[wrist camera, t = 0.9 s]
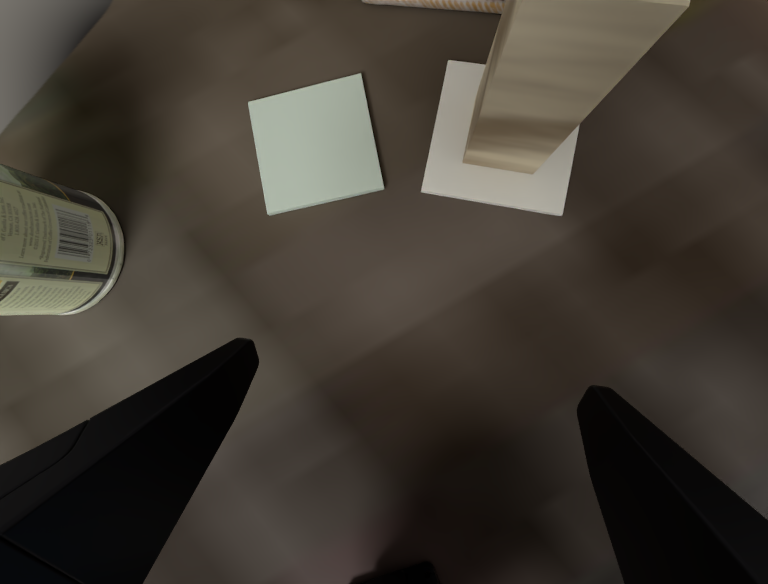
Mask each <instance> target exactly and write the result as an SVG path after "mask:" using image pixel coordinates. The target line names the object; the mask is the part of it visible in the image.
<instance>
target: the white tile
mask: <svg viewBox="0 0 768 584" xmlns="http://www.w3.org/2000/svg"><path fill="white" fill-rule="evenodd" d="M485 66H486V65H484V64H476V63H468V62H461V61H453V60H448V64H447V69H446V74H445V78H444V83H443V88H442V93H441V98H440V103H439V107H438V112H437V117H436V122H435V127H434V132H433V136H432V141H431V146H430V151H429V156H428V160H427V165H426V170H425V175H424V180H423V185H422V189H421V192H423V193H428V194H434V195H440V196H446V197H452V198H457V199H463V200H469V201H475V202H481V203H486V204H492V205H498V206H504V207H509V208H515V209H521V210H527V211H533V212H538V213H544V214H550V215H556V216H562V215H563V210H564V205H565V199H566V194H567V189H568V184H569V178H570V173H571V168H572V163H573V157H574V152H575V147H576V142H577V136H578V131H579V126H580V124H579V125H578V126H577V127H576V129H575V130H574V131H573V132H572V133H571V134H570V135H569V136H568V137H567V138H566V139H565V140H564V141H563V143H562V144H561V145H560V146H559V147H558V148H557V149H556V150H555V151H554V152H553V153H552V154H551V155H550V156H549V158H548V159H547V160H546V161H545V162H544V163H543V164H542V165H541V166H540V167H539V168H538V169H537V170H536V172H535V173H534V174H527V173H521V172H515V171H509V170H502V169H496V168H490V167H484V166H478V165H472V164H465V163H462V162H463V157H464V152H465V147H466V142H467V137H468V132H469V128H470V123H471V118H472V113H473V108H474V103H475V98H476V94H477V91H478V88H479V85H480V82H481V79H482V75H483V72H484V69H485Z"/></svg>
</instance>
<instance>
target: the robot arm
mask: <svg viewBox="0 0 768 584" xmlns="http://www.w3.org/2000/svg"><path fill="white" fill-rule="evenodd" d="M258 365H259V358H258V355H257V351H256V348H255V344H254V342H253V341H252V340H251V339H246V338H236V339H234V340H232V341H230V342H228V343H227V344H225V345H223V346H221V347H219V348H218V349H216V350H214V351H212V352H210V353H208V354H207V355H205V356H203V357H201V358H199V359H197V360H196V361H194V362H192V363H190V364H188V365H186V366H185V367H183V368H181V369H179V370H177V371H175V372H174V373H172V374H170V375H168V376H166V377H165V378H163V379H161V380H159V381H157V382H155V383H154V384H152V385H150V386H148V387H146V388H144V389H143V390H141V391H139V392H137V393H135V394H133V395H132V396H130V397H128V398H126V399H124V400H122V401H121V402H119V403H117V404H115V405H113V406H111V407H110V408H108V409H106V410H104V411H102V412H101V413H99V414H97V415H95V416H93V417H92V418H90V420H86V421H84V422H82V423H80V424H78V425H77V426H75V427H73V428H71V429H69V430H68V431H66V432H64V433H62V434H60V435H58V436H56V437H54V438H52V439H51V440H49V441H47V442H45V443H43V444H41V445H39V446H37V447H36V448H34V449H32V450H30V451H28V452H26V453H24V454H22V455H20V456H18V457H16V458H14V459H12V460H10V461H8V462H6V463H4V464H2V465H0V584H143V582H144V580H145V579H146V577H147V575H148V573H149V571H150V570H151V568H152V566H153V564H154V562H155V561H156V559H157V557H158V555H159V554H160V552H161V550H162V548H163V546H164V545H165V543H166V541H167V539H168V538H169V536H170V534H171V532H172V530H173V529H174V527H175V525H176V523H177V522H178V520H179V518H180V516H181V514H182V513H183V511H184V509H185V507H186V505H187V504H188V502H189V500H190V498H191V497H192V495H193V493H194V491H195V489H196V488H197V486H198V484H199V482H200V481H201V479H202V477H203V475H204V473H205V472H206V470H207V468H208V466H209V465H210V463H211V461H212V459H213V457H214V456H215V454H216V452H217V450H218V448H219V447H220V445H221V443H222V441H223V440H224V438H225V436H226V434H227V432H228V431H229V429H230V427H231V425H232V424H233V422H234V420H235V418H236V416H237V414H238V412H239V410H240V407H241V405H242V403H243V401H244V398H245V396H246V394H247V391H248V389H249V387H250V385H251V382H252V380H253V378H254V375H255V373H256V371H257V368H258ZM577 416H578V421H579V426H580V431H581V436H582V440H583V445H584V450H585V455H586V459H587V464H588V469H589V473H590V477H591V480H592V484H593V487H594V490H595V493H596V496H597V500H598V503H599V506H600V509H601V512H602V515H603V518H604V521H605V524H606V527H607V531H608V534H609V537H610V540H611V543H612V546H613V549H614V552H615V555H616V558H617V562H618V565H619V568H620V571H621V574H622V577H623V580H624V583H625V584H768V520H767V519H766V518H764V517H763V516H762V515H761V514H760V513H758V512H757V511H756V510H755V509H754V508H752V507H751V506H750V505H749V504H748V503H747V502H745V501H744V500H743V499H742V498H741V497H739V496H738V495H737V494H736V493H735V492H734V491H732V490H731V489H730V488H729V487H728V486H726V485H725V484H724V483H723V482H722V481H720V480H719V479H718V478H717V477H716V476H715V475H713V474H712V473H711V472H710V471H709V470H707V469H706V468H705V467H704V466H703V465H701V464H700V463H699V462H698V461H697V460H696V459H694V458H693V457H692V456H691V455H690V454H688V453H687V452H686V451H685V450H684V449H683V448H681V447H680V446H679V445H678V444H677V443H675V442H674V441H673V440H672V439H671V438H669V437H668V436H667V435H666V434H665V433H664V432H662V431H661V430H660V429H659V428H658V427H656V426H655V425H654V424H653V423H652V422H651V421H649V420H648V419H647V418H646V417H645V416H643V415H642V414H641V413H640V412H639V411H637V410H636V409H635V408H634V407H633V406H632V405H630V404H629V403H628V402H627V401H626V400H624V399H623V398H622V397H621V396H620V395H619V394H617V393H616V392H615V391H614V390H612V389H611V388H609V387H603V386H596V385H591V386H590V387H588V389H587V390H586V392H585V394H584V396H583V397H582V399H581V401H580V402H579V404H578V407H577ZM425 571H430V573H425ZM360 584H440V582H439V579H438V577H437V574H436V571H435V569H434V567H433V565H432V564H431V563H429V562H424V563H421V564H418V565H415V566H412V567H409V568H406V569H403V570H399V571H396V572H393V573H390V574H387V575H384V576H381V577H378V578H375V579H372V580H369V581H366V582H363V583H360Z"/></svg>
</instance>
